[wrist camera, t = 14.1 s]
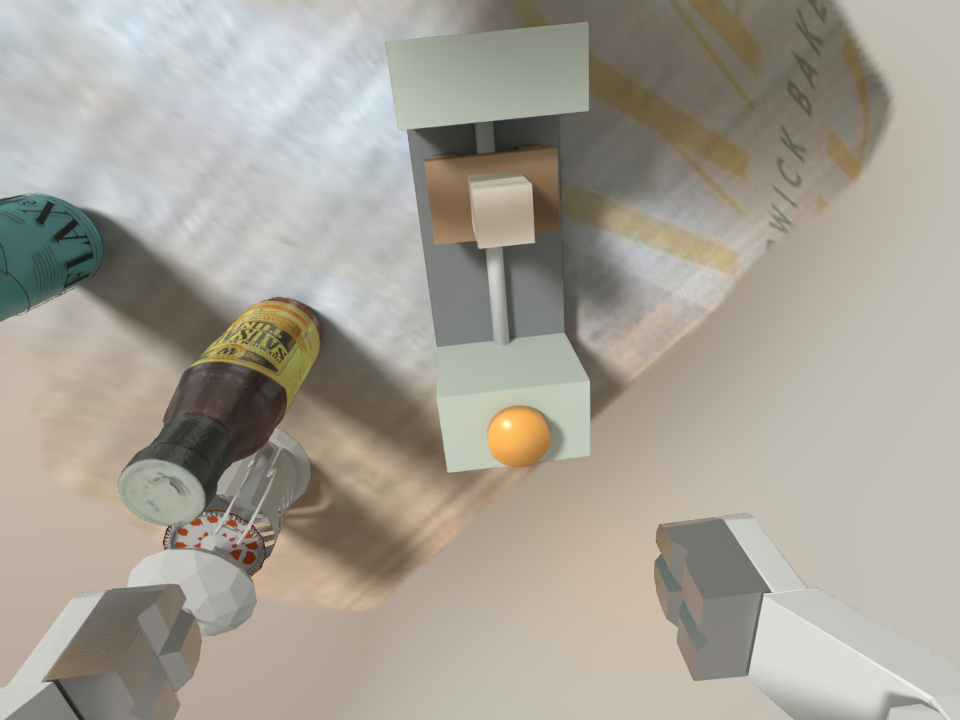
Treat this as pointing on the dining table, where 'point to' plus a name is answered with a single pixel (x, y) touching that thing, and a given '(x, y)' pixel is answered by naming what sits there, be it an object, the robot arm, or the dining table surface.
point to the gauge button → (518, 436)
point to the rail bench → (506, 269)
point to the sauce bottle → (222, 411)
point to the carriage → (494, 196)
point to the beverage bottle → (43, 250)
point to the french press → (230, 536)
